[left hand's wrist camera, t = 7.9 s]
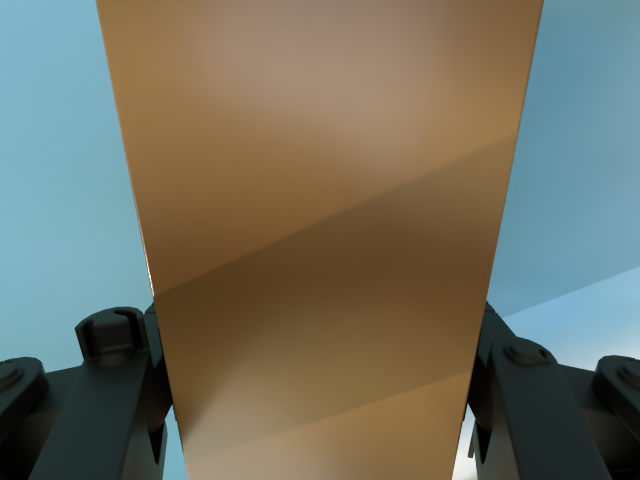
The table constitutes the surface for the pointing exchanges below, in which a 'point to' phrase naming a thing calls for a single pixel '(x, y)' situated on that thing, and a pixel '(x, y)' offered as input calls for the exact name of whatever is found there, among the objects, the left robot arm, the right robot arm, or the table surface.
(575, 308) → the table surface
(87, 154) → the table surface
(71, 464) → the left robot arm
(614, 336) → the table surface
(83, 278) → the table surface
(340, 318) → the bar
